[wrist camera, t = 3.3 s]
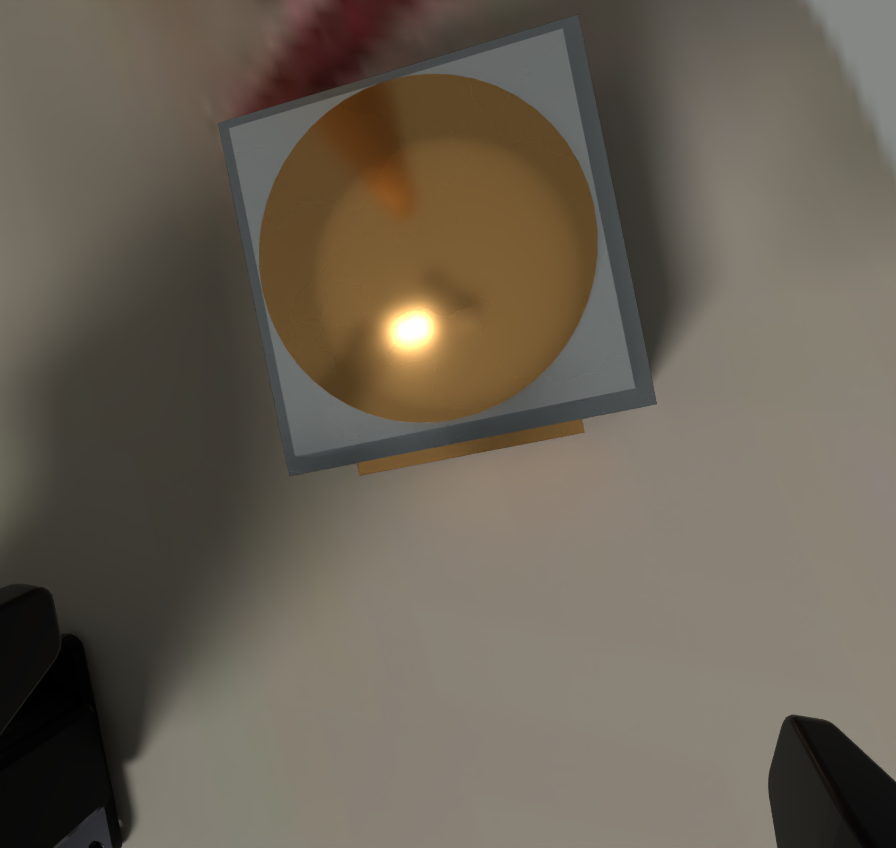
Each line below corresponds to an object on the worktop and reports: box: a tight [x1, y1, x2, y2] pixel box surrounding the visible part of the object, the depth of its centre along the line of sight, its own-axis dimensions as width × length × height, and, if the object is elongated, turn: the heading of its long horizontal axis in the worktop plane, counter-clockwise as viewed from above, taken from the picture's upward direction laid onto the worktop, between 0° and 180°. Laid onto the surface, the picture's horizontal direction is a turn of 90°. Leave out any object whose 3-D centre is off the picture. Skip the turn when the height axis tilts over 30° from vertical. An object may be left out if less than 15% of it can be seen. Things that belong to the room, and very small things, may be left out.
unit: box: [218, 15, 657, 476], centre depth 15 cm, size 8×8×3 cm
